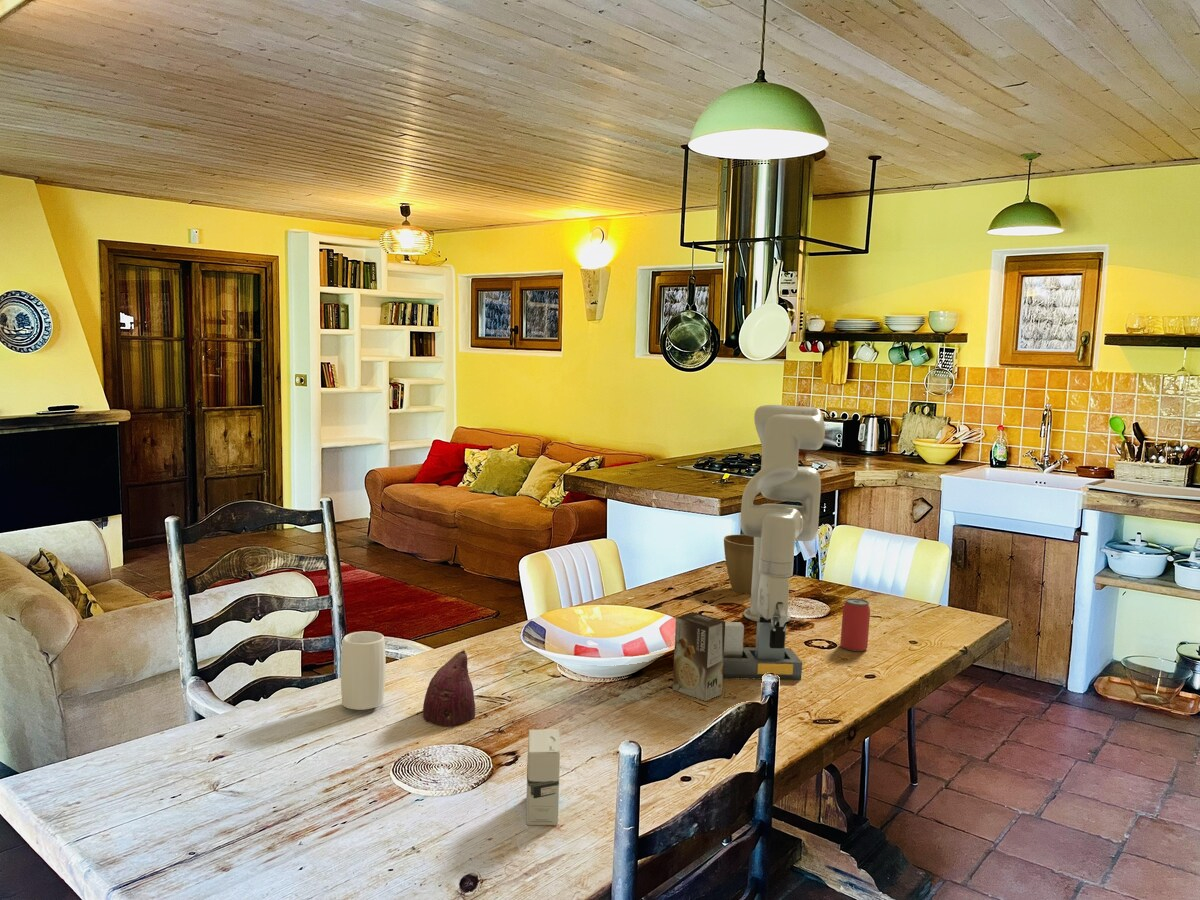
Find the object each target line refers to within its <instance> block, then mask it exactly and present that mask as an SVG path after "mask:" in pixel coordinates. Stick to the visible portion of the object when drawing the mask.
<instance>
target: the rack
mask: <svg viewBox="0 0 1200 900" xmlns="http://www.w3.org/2000/svg"><path fill="white" fill-rule="evenodd" d="M744 634H745V625H744V624H743V623H742V622H741V621H740V622H739V621H738V622H737V621H725V640H724V659H723V678H722V679H730V678H739V679H740V680H744V679H743V678H749V679H748V680H754V679H753V678H756V679H755V680H758V679H757V678H760V679H759V680H762V679H761V678H762V676H763V675H764V674H765V673H767V672H771V673H775V674H776V675H778V676H779V677H780V679H779V680H785V681H786V680H787V681H789V680H794V681H795V680H796V681H801V680H802V672H803V662H802V660H801V659H800V658H799V657H798V655H797V653H795V652H794V651H793V649H792V648H790V647H789V648H787V647H785V654H784V659H755V648H756V647H747V646H744V637H745V636H744ZM741 678H742V679H741Z"/></svg>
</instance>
